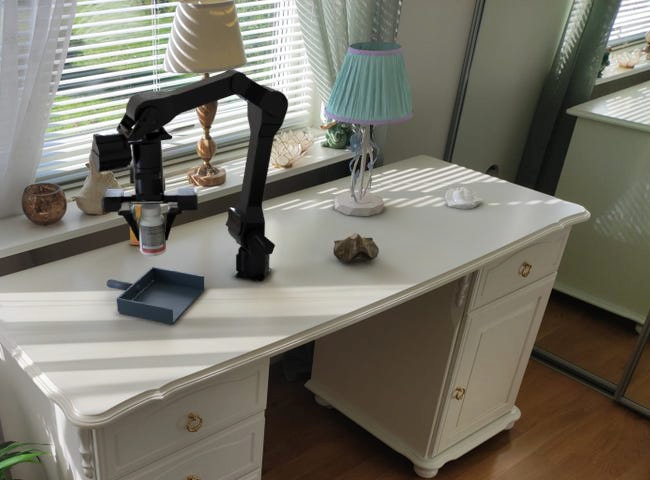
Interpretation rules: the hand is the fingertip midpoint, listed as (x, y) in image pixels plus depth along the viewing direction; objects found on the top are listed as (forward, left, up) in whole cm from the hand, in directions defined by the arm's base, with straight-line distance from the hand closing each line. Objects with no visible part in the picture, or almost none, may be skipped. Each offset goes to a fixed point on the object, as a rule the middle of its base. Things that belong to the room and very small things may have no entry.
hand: (152, 239), depth 146 cm
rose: (-53, -77, -13) cm, 95 cm away
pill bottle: (0, 0, -3) cm, 3 cm away
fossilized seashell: (-35, -32, -10) cm, 48 cm away
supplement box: (+16, -22, -13) cm, 30 cm away
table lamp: (-28, -64, -13) cm, 71 cm away
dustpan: (+1, +3, -12) cm, 13 cm away
